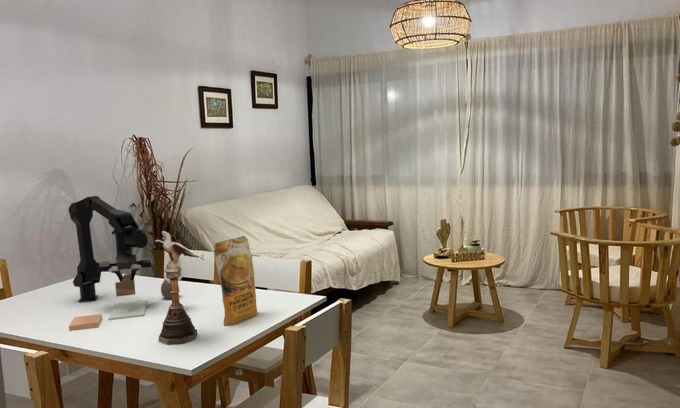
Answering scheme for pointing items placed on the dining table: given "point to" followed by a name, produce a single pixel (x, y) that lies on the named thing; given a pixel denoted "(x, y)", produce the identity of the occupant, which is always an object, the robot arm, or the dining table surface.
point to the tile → (85, 322)
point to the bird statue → (176, 297)
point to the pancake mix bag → (236, 279)
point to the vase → (166, 289)
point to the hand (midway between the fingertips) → (127, 286)
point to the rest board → (128, 309)
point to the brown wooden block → (125, 286)
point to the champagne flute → (166, 260)
